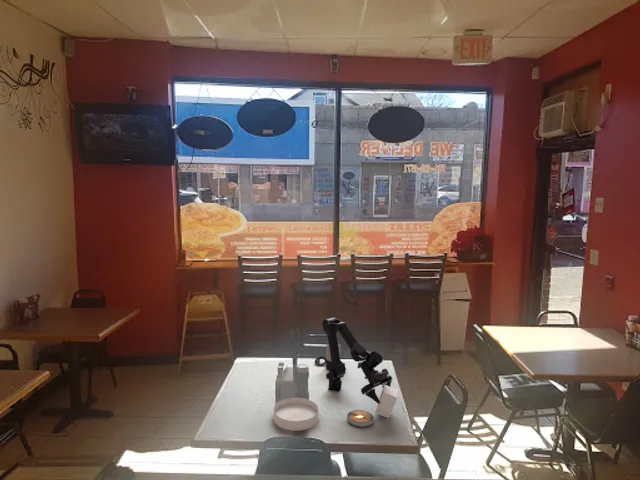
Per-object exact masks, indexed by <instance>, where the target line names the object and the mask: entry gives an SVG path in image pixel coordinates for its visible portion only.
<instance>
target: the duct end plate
mask: <svg viewBox="0 0 640 480" xmlns="http://www.w3.org/2000/svg"><path fill="white" fill-rule="evenodd" d="M346 422H347V423H348V425H350V426H352V427H355V428H359V429H366V428H369V427H371V426H373V425H374V424H375V423H374V422H375V417H374V415H373V414H372V413H371V412H370V411H368V410H364V409H363V410H362V409H355V410H351V411H348V413H347V414H346Z"/></svg>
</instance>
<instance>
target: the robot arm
mask: <svg viewBox="0 0 640 480" xmlns="http://www.w3.org/2000/svg"><path fill="white" fill-rule="evenodd" d="M322 329H323V332H324V333H325V334H326V335H327V341H328V343H329V349H330V355H331V364H330V371H329V372H328V373H326V374H325V377H326V379H327V380H328V387H327V390H328V391H330V392H331V391H332V392H340V390H341V389H342V387H343V386H342V385H343V384H342V383H343V381H342V378H344V376H345V375H346V371H347V368H346V363H345V362H343V361H342V360H341V353H340V354H339V348H338V343H339V341H338V335H337V333H338V332H339V334H340V335H341V337H342V338H343V340H344V342H345V343H346V345H347V346H348V347H349V353H350V355H351V357H352V359H353V360H354V362H357V363H358V364H357V369H361V371H362V372H363V374H364V380H367V381H368V384H365V385H364V386H363V387H362V388H360V392H361V394H362V395H364V396H366V397H368V398H370V399H372V400H373V401H374V402H376V404H377V403H378V404H380V401H379V397H378V395H377V393H376V387H379V386H381V388H383V387H384V385H387V386H389V387H392V385H391V384H392V382H393V377H392V375H390V374H389V371H388V369H387V368H383V369H381V371H378V370H377V369H375V368H376V367H378V366H379V365H380V364H381V363H383V356H382V355H381V354H380V353H378V352H376V351H375V350H373V351H371V352H369V351H367V350H366V348H365V347H364V346H363V345H361V344H360V343H358V341H357V340H356V338H355V337H354V335H353V334H352V332H351V331H350V329H349V328H348V326H347V323H346V322H345V321H342V320H341V319H338V318H337V319H336V317H330V318H326V319H324V320H323V321H322Z"/></svg>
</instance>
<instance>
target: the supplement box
mask: <svg viewBox="0 0 640 480" xmlns="http://www.w3.org/2000/svg"><path fill="white" fill-rule="evenodd" d="M398 394H399V389H396V388H394V387H392V386H391V387H389V386H387V385H384V387H382V391H381V393H380V395H379V397H378V399H379V401H380V404H378V403H377V402H376V406H375V410H374V413H375V414H377V415H379V416H382V417H384V418H387V419H390V416H391V413H392V412H393V409H394V406H395V405H396V402H397V399H398Z"/></svg>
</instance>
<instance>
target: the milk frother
mask: <svg viewBox="0 0 640 480" xmlns="http://www.w3.org/2000/svg"><path fill="white" fill-rule="evenodd" d="M325 346H326V351H325V352H326V353H325V354H326V355H325V356H326V357H325V356H318V357H316V358H315V359H314V364H315V365H316V366H320V367H321V366H325V367H324V368H325V369H326V370H327V371H329V372H330V364H331V355H330V349H329V342H328V343H326V344H325ZM341 347H342V345H341V343H339V342H338V348H339V354H340V355H341V349H342V348H341ZM321 360H324V362H323V363H320V362H321Z"/></svg>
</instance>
